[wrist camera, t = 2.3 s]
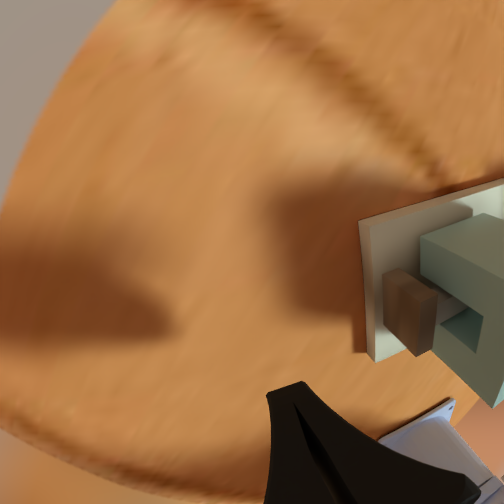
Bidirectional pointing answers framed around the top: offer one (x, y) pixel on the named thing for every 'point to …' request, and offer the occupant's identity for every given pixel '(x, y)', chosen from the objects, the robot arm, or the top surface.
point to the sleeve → (470, 300)
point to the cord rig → (413, 269)
